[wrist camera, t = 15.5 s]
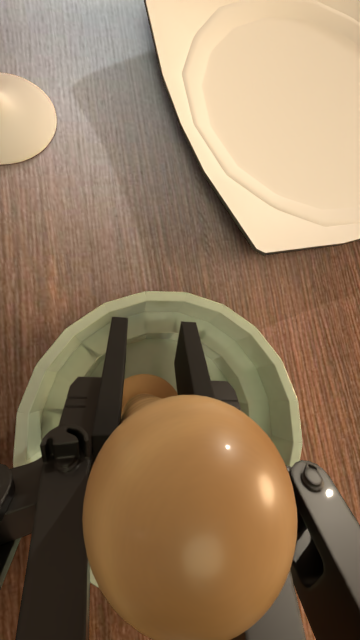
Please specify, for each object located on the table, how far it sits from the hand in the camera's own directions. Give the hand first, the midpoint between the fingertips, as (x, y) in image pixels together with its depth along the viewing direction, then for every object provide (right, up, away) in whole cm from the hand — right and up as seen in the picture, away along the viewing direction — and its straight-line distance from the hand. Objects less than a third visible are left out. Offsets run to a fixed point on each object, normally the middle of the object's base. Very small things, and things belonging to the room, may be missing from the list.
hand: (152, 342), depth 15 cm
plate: (+14, +22, +15) cm, 30 cm away
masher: (-1, -5, +5) cm, 7 cm away
